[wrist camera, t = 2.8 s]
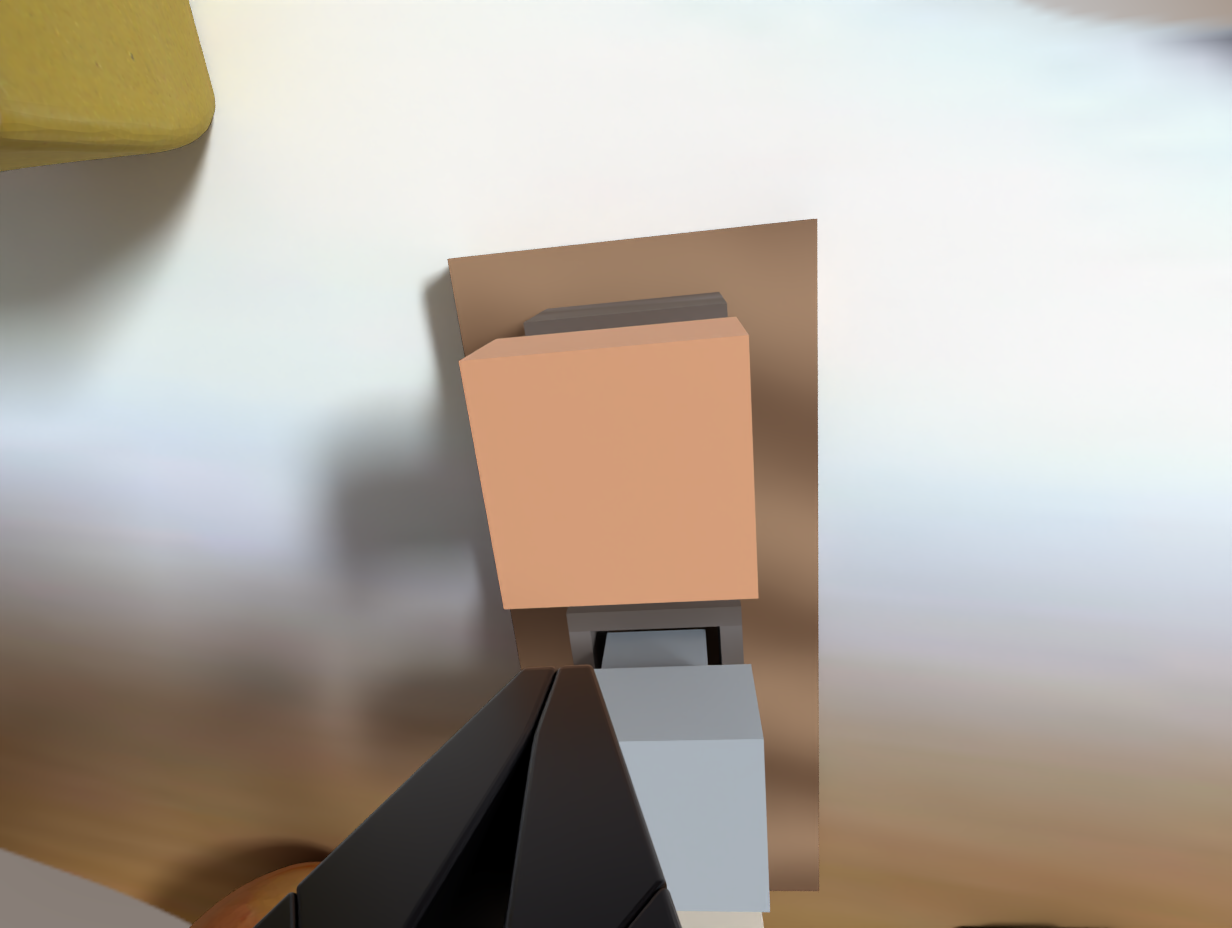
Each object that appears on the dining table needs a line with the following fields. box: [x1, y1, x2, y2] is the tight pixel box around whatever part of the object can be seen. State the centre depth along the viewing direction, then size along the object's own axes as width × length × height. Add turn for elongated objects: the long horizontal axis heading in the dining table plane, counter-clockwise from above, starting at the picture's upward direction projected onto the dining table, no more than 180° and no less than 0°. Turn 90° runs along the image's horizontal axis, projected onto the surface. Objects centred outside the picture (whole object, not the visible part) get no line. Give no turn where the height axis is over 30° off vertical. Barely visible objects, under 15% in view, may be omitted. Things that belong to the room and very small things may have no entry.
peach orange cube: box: [459, 317, 758, 609], centre depth 14 cm, size 5×5×5 cm
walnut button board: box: [448, 219, 819, 891], centre depth 21 cm, size 24×10×4 cm, turn 6°
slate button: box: [594, 629, 770, 912], centre depth 17 cm, size 5×5×5 cm
